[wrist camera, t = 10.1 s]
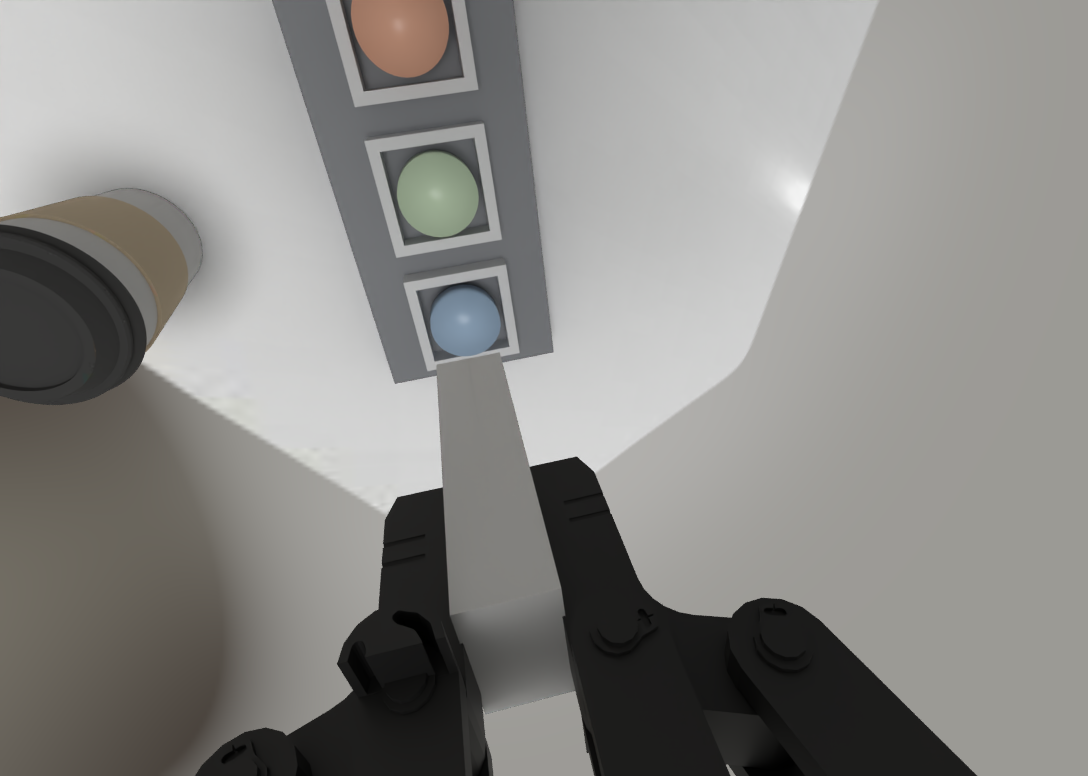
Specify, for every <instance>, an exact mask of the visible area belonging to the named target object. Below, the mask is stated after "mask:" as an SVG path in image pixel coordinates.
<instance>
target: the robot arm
mask: <svg viewBox="0 0 1088 776" xmlns="http://www.w3.org/2000/svg"><path fill="white" fill-rule="evenodd" d="M436 368H437V386H438V405H439V423H440V442H441V461H442V479H443V488H438V489H433V490H429V491H424V492H420V493H415V494H411V495H406V496H401V497H397V499H396V501H395V503H394V504H393V506H392V508H391V510H390V512H389V514H388V515H387V517H386V519H385V527H384V540H383V541H384V542H383V544H384V548H383V556H382V566H383V568H382V569H381V582H380V596H379V610H377V611H374V612H373V613H372V614H371V615H370V616H368V617H367V618H365V619H364V620H363V621H362V622H360V623H359V624H358V625H357V626H356V627H355V629H354V630H353V631H352V633H351V634H350V636H349V637H348V639H347V640H346V641H345V642H344V645H343V647H342V651H341V653H340V657H339V660H338V663H337V665H338V666H339V668H340V669H341V671H342V673H343V674H344V676H345V678H346V679H347V681H348V682H349V684H350V686H351V687H352V689H353V691H352V692H351V693H350V694H349V695H348V696H347V698H345V699H344V700H343V701H342V702H340V703H339V704H337V705H336V706H335V707H333V708H332V709H331V710H329V711H327V712H326V713H324V714H322V715H321V716H319V717H318V718H316V719H314V720H312V721H311V722H309V723H307V724H306V725H304V726H302V727H301V728H299V729H297V730H295V731H294V732H292V733H291V734H289V735H287V736H286V735H285V734H284V733H283V732H281V731H277V730H273V729H269V728H262V729H257V730H253V731H248V732H244V733H243V734H241V735H239V736H237V737H236V738H234V739H232V740H231V741H229V742H227V743H225V744H224V745H222V747H220V748H219V749H218V750H217V751H216V752H215V753H214V754H213V755H212V756H211V757H210V758H209V759H208V760H207V761H206V762H205V763H204V764H203V765H202V766H201V768H200V769H199V771H198V772H197V774H196V776H493V768H492V759H491V754H490V751H489V748H488V744H487V741H486V738H485V730H484V719H483V710H482V706H483V709H484V712H485V714H489V713H493V712H496V711H500V710H504V709H508V708H511V707H515V706H519V705H523V704H526V703H530V702H534V701H537V700H542V699H545V698H549V697H553V696H556V695H560V694H564V693H568V692H572V691H576V695H577V699H578V703H579V707H580V711H581V715H582V722H583V729H584V736H585V743H586V750H587V753H589V755H590V759H591V763H592V768H593V772H594V776H730V774H729V771H728V769H727V767H726V764H728V765H729V766H730V768H731V769H732V771H733V772H734V774H735V775H736V776H977V775H976V774H975V773H974V772H973V771H972V770H971V769H970V768H969V767H968V766H967V765H966V764H965V763H964V762H963V761H961V759H960V758H959V757H958V756H956V755H955V754H954V753H953V752H952V751H951V750H950V749H949V748H948V747H947V746H946V745H945V744H944V743H943V742H942V741H941V740H940V739H939V738H938V737H937V736H936V735H935V734H934V733H933V732H932V731H931V730H930V729H929V728H928V727H927V726H926V725H925V724H924V723H923V722H922V721H921V720H920V719H919V718H918V717H917V716H916V715H915V714H914V713H913V712H912V711H911V710H910V709H909V708H908V707H907V706H906V705H905V704H904V703H903V702H902V701H901V700H900V699H899V698H898V697H897V696H896V695H895V694H894V693H893V692H892V691H891V690H890V689H888V687H887V686H886V685H885V684H883V682H882V681H881V680H880V679H879V678H878V677H877V676H876V675H875V674H874V673H872V671H871V670H870V669H869V668H868V667H866V666H865V665H864V664H863V663H862V662H861V661H860V660H859V659H858V658H857V657H856V656H855V655H854V654H853V653H852V652H851V651H850V650H849V649H848V648H847V647H846V646H845V645H844V644H843V643H842V642H841V641H840V640H839V639H838V638H837V637H836V636H835V635H834V634H833V633H832V632H831V631H830V630H829V629H828V628H827V627H826V626H825V625H824V624H823V623H822V622H821V621H820V620H819V619H817V618H816V617H815V616H813V615H812V614H811V613H809V612H808V611H807V610H805V609H804V608H803V607H800V606H798V605H795V604H793V603H790V602H787V601H785V600H782V599H771V598H760V599H757V600H753V601H750V602H747V603H745V604H743V605H742V606H741V607H740V608H739V609H738V610H737V611H736V612H735V613H734V614H733V616H732V618H727V617H714V616H701V615H700V616H699V615H691V614H686V613H680V612H677V611H675V610H672V609H670V608H667V607H665V606H663V605H662V604H660V603H659V602H657V601H656V600H654V599H653V598H652V597H651V596H650V595H649V594H648V593H647V592H646V591H645V590H644V588H643V587H642V585H641V583H640V581H639V580H638V578H637V575H636V573H635V570H634V568H633V566H632V563H631V561H630V559H629V556H628V553H627V551H626V548H625V546H624V544H623V541H622V539H621V536H620V534H619V532H618V529H617V527H616V524H615V522H614V519H613V517H612V514H610V510H609V507H608V505H607V503H606V500H605V498H604V497H603V493H602V490H601V488H600V485H599V483H598V480H597V478H596V475H595V473H594V471H592V470H591V469H590V468H589V467H588V466H587V465H586V464H585V463H583V462H582V461H581V460H580V459H579V458H578V457H573V458H568V459H563V460H559V461H554V462H550V463H545V464H540V465H536V466H531V467H529V463H528V459H527V455H526V451H525V448H524V444H523V440H522V436H521V432H520V429H519V425H518V421H517V417H516V413H515V409H514V406H513V402H512V398H511V394H510V390H509V387H508V383H507V379H506V375H505V371H504V367H503V364H502V360H501V356H500V352H499V353H493V354H488V355H483V356H478V357H473V358H468V359H463V360H457V361H452V362H447V363H442V364H437V365H436Z"/></svg>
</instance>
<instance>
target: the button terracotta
mask: <svg viewBox="0 0 1088 776" xmlns="http://www.w3.org/2000/svg"><path fill="white" fill-rule="evenodd" d="M351 19H352V25H353V30H354V33H355V36H356V38H357V41H358V43H359V45H360V47H361V48H362V50H363V51H364V53H365V54H366V56H367V57H368V58H369V59H370V60H371V61H372V62H373V63H374V64H375V65H376V66H377V67H379V68H380V69H382V70H383V71H385V72H387V73H389V74H392V75H394V76H398V77H406V78H408V77H416V76H420V75H422V74H425V73H426V72H428V71H430V70H431V69H432V68H433V67H434V66H435V65H436V64H437V63H438V62H439V60H440V59H441V57H442V56H443V54H444V52H445V49H446V46H447V42H448V35H449V22H448V15H447V11H446V7H445V4H444V2H443V0H352V4H351Z"/></svg>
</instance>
